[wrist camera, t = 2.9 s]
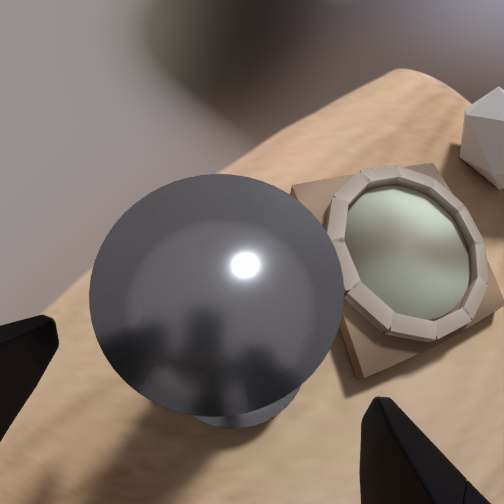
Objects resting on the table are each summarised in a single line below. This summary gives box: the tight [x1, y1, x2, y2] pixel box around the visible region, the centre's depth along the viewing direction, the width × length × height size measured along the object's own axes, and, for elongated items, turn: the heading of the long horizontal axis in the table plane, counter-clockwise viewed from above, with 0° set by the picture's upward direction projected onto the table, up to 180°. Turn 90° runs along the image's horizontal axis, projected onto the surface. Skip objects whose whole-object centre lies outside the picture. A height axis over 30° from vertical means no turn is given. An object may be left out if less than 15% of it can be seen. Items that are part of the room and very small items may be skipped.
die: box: [459, 87, 504, 190], centre depth 20 cm, size 8×9×10 cm
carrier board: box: [290, 163, 504, 379], centre depth 18 cm, size 12×12×2 cm
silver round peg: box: [89, 174, 344, 429], centre depth 11 cm, size 7×7×12 cm
